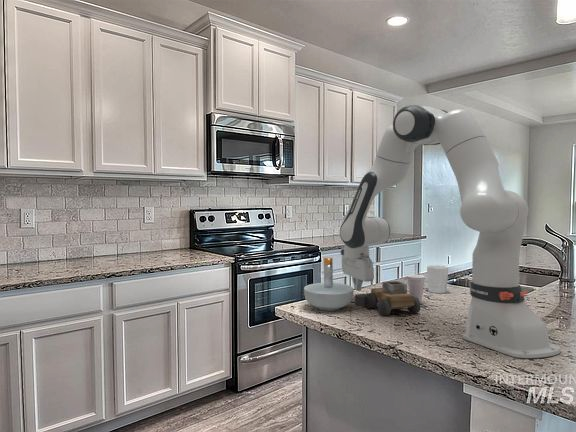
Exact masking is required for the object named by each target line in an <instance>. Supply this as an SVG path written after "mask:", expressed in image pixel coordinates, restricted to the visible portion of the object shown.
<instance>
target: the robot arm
mask: <svg viewBox="0 0 576 432" xmlns="http://www.w3.org/2000/svg"><path fill="white" fill-rule="evenodd" d="M420 145H423V146H437V145H441V148H442V149H443V152H444V154H445V157H446V159H447V161H448V164H449V165H450V168H451V170H452V173H453V175H454V176H455V180H456V183H457V187H458V193H459V196H460V200H461V201H460V202H461V206H460V212H459V213H460V218H461V220H462V222H463V224H464V225H465V226H467V227H468V228H469V229H471V230H473V231H476V232H478V238H477V242H476V246H475V248H474V249H473V251H472V259H471V260H472V263H471V264H472V267H471V269H472V270H471V271H472V277H471V278H472V279H471V281H470V286H469V293H470V296H471V300H470V303H469V306H468V310H467V311H468V312H467V318H466V319H467V320H466V329H465V332H463V336H462V338H463V340H466V341H469V342H471V343H474V344H477V345H479V346H482V347H484V348H488V349H491V350H493V351H497V352H499V353H501V354H504V355H506V356H510V357H512V358H518V359H519V358H522V359H535V358H536V359H537V358H538V359H539V358H547V357H552V356H557V355H559V354H560V353H561V347H560V346H559V345H556V344H554V343H552V342H551V341H550V337H549V331H548V326H547V324H546V322H544V321H543V320H542V319H541V317H539V315H537V314H536V313H535V312H534V310H533V309H531V307H530V306H529V305H528V304H527V303H526V302H525V301H526V300H525V297H528V296H529V295H528V293H529V291H523V290H522V286H521V285H520V256H521V254H520V253H521V249H522V242H523V238H524V232H525V226H526V220H527V218H528V217H529V216H528V215H529V205H528V203H527V201H526V200H525V198H524V197H522V196H521V195H520V194H519V193H517V192H515V191H513V190H505V189H504V186H503V184H502V179H501V176H500V170H499V162H498V159H497V157H496V155H495V152H494V150H493V149H492V147H491V145H490V143H489V141H488V139H487V136H486V135H485V132H484V131H483V130H482V128H481V126H480V124H479V122H477V120H476V119H475V117H474V116H473V115H472V113H470V111H468V110H467V109H464V108H459V109H457V108H456V109H453V110H449V111H448V110H444V109H440V108H436V107H433V106H428V105H419V104H418V105H416V104H413V105H411V104H410V105H406V106H403V107H402V108H400V109H399V110H398V111H397V112H396V113H395V116H394V117H393V121H392V124H391V125H390V126H388V127H387V128H386V129H385V131H384V133H383V135H382V137H381V140H380V143H379V145H378V149H377V151H376V152H377V153H376V156H375V158H374V162H373V163H372V166H371V167H370V169H369V170H368V172H367V173H365V175H364V176H363V177H362V179H361V180H360V183H359V186H358V187H357V190H356V192H355V195H354V198H353V200H352V203H351V205H350V208H349V210H347V211H346V212H345V215H344V220H343V222H342V224H341V226H340V229H339V237H340V239H341V241H342V243H344V247H342V248H341V249H340V255H341V268H342V269H341V271H342V273H343V274H344V275H347V276H350V277H351V279H352V283H353V290H356V291H362V287H363V286H362V285H363V282H365V283H369V282H373V281H374V279H375V271H374V264H373V261H372V259H371V258H370V247H371V246H377V245H382V244H385V243H387V241H389V239H390V235H391V227H390V225H389V222H388V221H387V220H386V219H385V218H383V217H379V216H376V215H375V214H372V213H371V212H369V210H370V208H371V206H372V203H373V201H374V199H375V198H376V196H378V195H379V194H380V193H382V192H383V191H385V190H387V189H390V188H392V187H395V186H397V185H398V184H400V183H402V182H403V181H404V179H405V178H406V175H407V174H408V171H409V167H410V164H411V160H412V157H413V153H414V151H415V149H416V148H417V147H418V146H420Z"/></svg>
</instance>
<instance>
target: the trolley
mask: <svg viewBox="0 0 576 432" xmlns="http://www.w3.org/2000/svg"><path fill="white" fill-rule="evenodd" d="M381 284H382V287H376V288H374V287H373V288H371V289H370V290H371V291H370V292H368V293H367V292H366V293H365V294H366V296H365V303H366V306H365V307H367V309H376V308H377V311H378V313H379V315H380V316H389V315H390V314H391V312H392V310H394V309H407V310H408V312H409V313H411V314H414V313H419V312H420V311H421V307H422V306H421V304H420V301H419V299H418V298H417V297H414V296H413V295H410V294H409V293H408V283H406V282H405V283H404V282H402V281H399V280H391V281H382V283H381Z"/></svg>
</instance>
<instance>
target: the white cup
mask: <svg viewBox="0 0 576 432" xmlns="http://www.w3.org/2000/svg"><path fill="white" fill-rule="evenodd" d="M448 275H449V267H448V266H445V265H440V264H439V265H437V264H435V265H434V264H433V265H427V266H426V276H427V277H426V278H427V286H428V287H427V289H428V290H427V291H428V293H431V294H446V293H447V290H448V289H447V288H448V287H447V286H448V278H449V276H448Z"/></svg>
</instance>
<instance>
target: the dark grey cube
mask: <svg viewBox="0 0 576 432" xmlns="http://www.w3.org/2000/svg"><path fill="white" fill-rule="evenodd" d="M366 294H367V293H360V294H358V293H357V294H354V305H356V306H358V307H360V308H361V307H362V308H363V307H367V306H366V303H365V296H366Z"/></svg>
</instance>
